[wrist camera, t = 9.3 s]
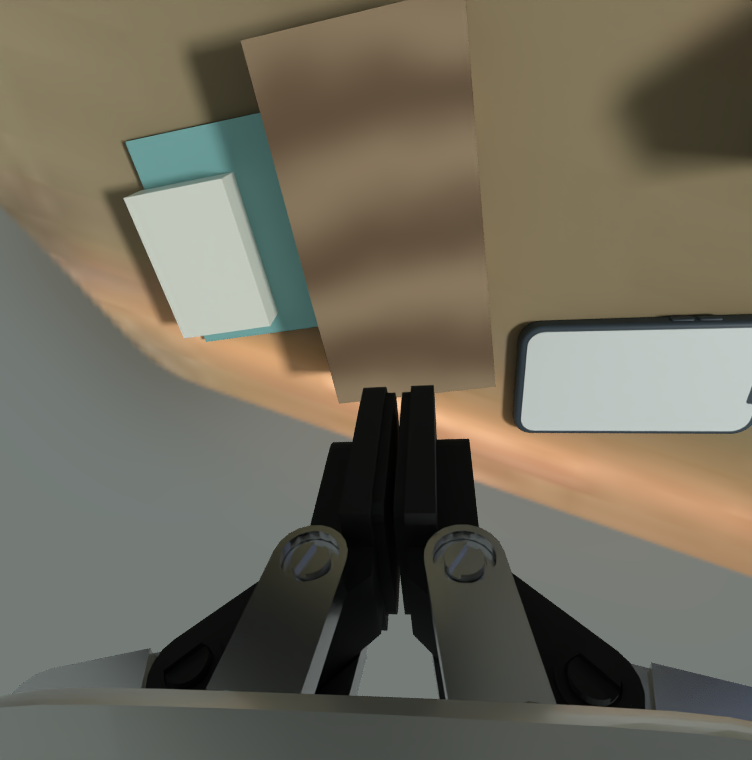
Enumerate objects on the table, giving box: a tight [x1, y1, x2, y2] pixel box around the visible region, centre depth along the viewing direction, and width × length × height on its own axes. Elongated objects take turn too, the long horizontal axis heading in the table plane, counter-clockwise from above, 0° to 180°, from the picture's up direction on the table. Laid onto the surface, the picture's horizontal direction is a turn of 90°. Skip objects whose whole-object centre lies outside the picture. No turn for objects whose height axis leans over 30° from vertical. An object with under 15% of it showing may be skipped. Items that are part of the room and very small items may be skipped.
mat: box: [125, 113, 318, 342], centre depth 32 cm, size 13×9×1 cm
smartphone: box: [513, 314, 752, 434], centre depth 34 cm, size 9×2×16 cm
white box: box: [124, 172, 278, 338], centre depth 31 cm, size 9×6×2 cm, turn 11°
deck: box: [241, 0, 496, 403], centre depth 29 cm, size 20×10×4 cm, turn 11°
